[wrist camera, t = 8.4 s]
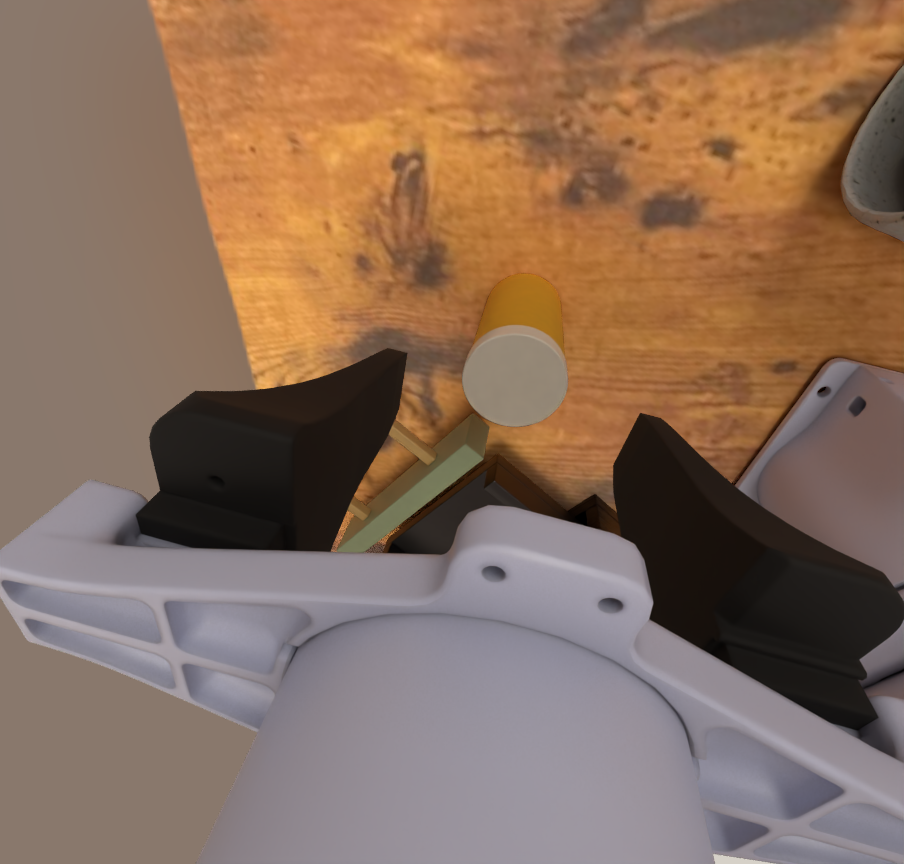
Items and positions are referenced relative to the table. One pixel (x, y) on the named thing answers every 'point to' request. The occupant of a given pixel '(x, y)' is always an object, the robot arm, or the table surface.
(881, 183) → the ceramic mug
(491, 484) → the drawer
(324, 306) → the table surface
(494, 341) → the pill bottle
